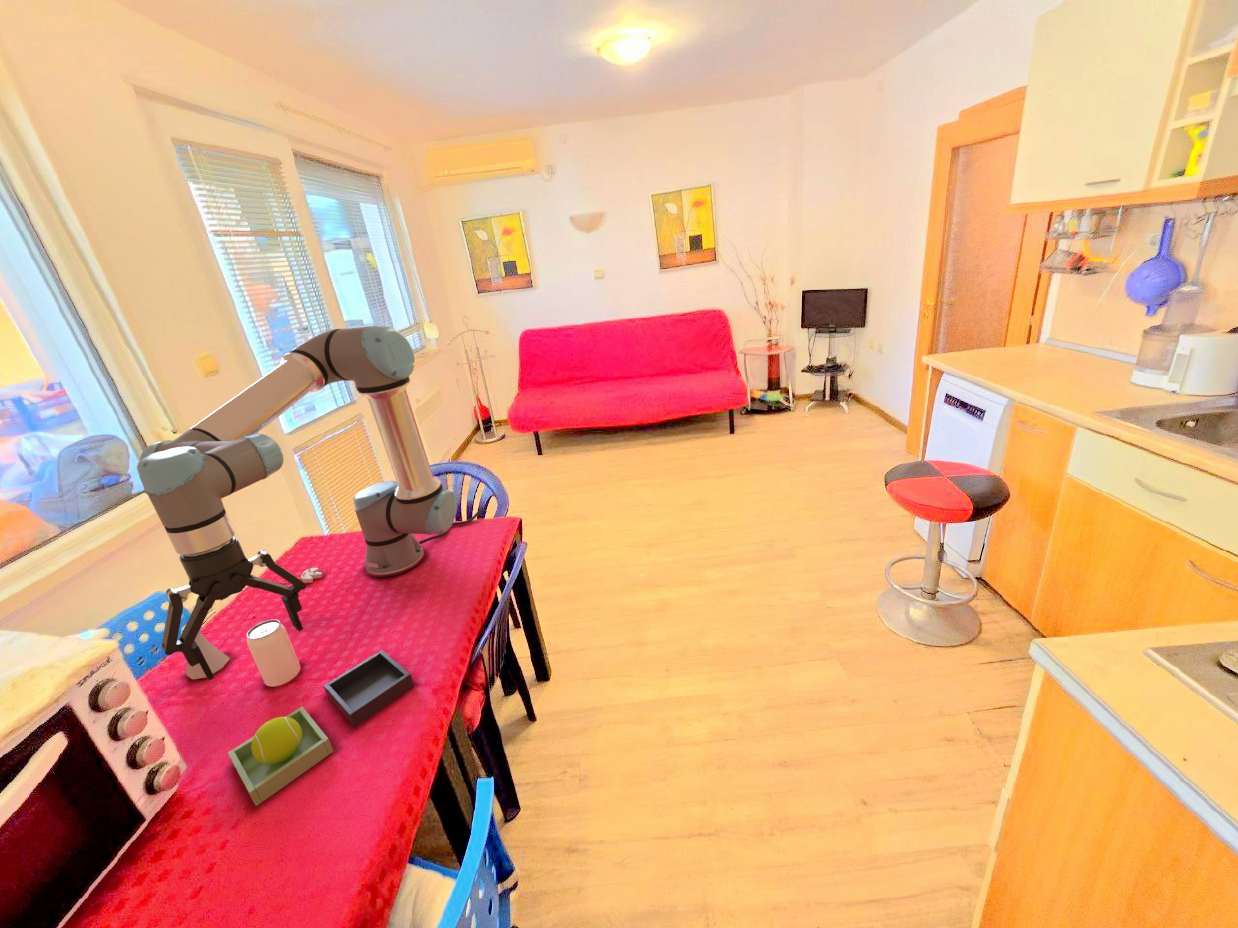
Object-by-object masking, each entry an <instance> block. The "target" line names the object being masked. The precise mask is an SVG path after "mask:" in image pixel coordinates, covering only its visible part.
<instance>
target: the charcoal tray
mask: <svg viewBox="0 0 1238 928" xmlns="http://www.w3.org/2000/svg"><path fill="white" fill-rule="evenodd" d="M414 686H415V684H414V681H413V678H412V674H411V673H410V672H409V671H407V670H406V669H405V668H404V667H402V666H401V664H399V663H398V662H397V661H396V660H394V659H393V658H392V657H391V656H390V655H389V654H387V653H386V652H385V651H384V650H383V649H381V650H379V651H378V652H376V653H375V654H373V655H371V656H369V657H368V658H366V659H364V660H363V661H361V662H359V663H358V664H356V665H355V666H353V667H350V669H348V670H346V671H345V672H343V673H342V674H340V675H338V676H337V677H335V678H334V679H332V680H330V681H329V682H327V683H326V684H324V685H323V689H324V691H325V694H326V696H327V698H328V699H329V700H330V702H331V703H332V704H333V705H334V707H336V709H338V711H339V712H340V713H341V714H342V716H344V717H345V718H346V720H347V721H348V722H349V724H350V725H352V726H353V727H354V728H355V727H357V726H359V725H360V724H362V723H363V722H365V721H366V720H367V719H369V718H370V717H372V716H373V715H374V714H377V712H379V711H380V710H382V709H384V708H385V707H386V706H388V705H389V704H391V703H392V702H393V701H395V700H396V699H398V698H399V697H400V696H402V695H404V694H405V693H406V692H407V691H409V690H410V689H412V688H413V687H414Z"/></svg>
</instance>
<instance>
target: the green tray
mask: <svg viewBox="0 0 1238 928" xmlns="http://www.w3.org/2000/svg"><path fill="white" fill-rule="evenodd" d="M285 717H290V718H292V719H294V720H296V721H297V722H298V723H299V725H300V727H301V730H302V740H301V743H300V745H299V747H298V749H297V750H296V752H295V753H294V754H293V755H292V756H291V757H290V758H288V759H287V760H285V761H283V762H281V763H278V764H274V765H266V764H262V763H260V762H258V761H257V760H256V759H255V758H254V756H253V754H252V750H251V744H252V739H253V737H254V736H252V737H250V738H249V739H247V740H246V741H244V742H242V743H241V744H238V746H236V747H234V748H232V749H231V750H229V751H227V755H228V757H229V759H230V761H231V763H232V765H233V767H234V768H235V770H236V773H237V774H238V776H239V778H240V780H241V781H242V783H243V784H244V788H245V789H246V791H247V792H248V794H249V796H250V798H251V801H252V802H253V804H254V805H255V807H257V806H259V805H260V804H261V803H263V802H264V801H266V800H267V799H268V798H270V797H271V796H273V795H274V794H276V793H277V792H278V791H280V790H281V789H283V788H284V787H285V786H287V785H288V784H290V783H291V782H293V781H294V780H296V778H298V777H300V776H301V775H303V774H304V773H305V772H307V771H308V770H309V769H311V768H312V767H314V766H315V765H317V764H318V763H320V762H321V761H322V760H324V759H325V758H326V757H328V756H329V755H331V754H333V753H334V749H333V747H332V744H331V741H330V739H329V738H328V736H327V735H326V733H324V731H323V730H322V729H321V727H320V726H319V725H318V723H316V721H315V720H314V719H313V718H312V716H311V715H310V714H309V712H308V711H307V710H306V709H305V707H304V706H301V707H298V708H297V709H295V710H294V711H292V712H291V713H289V714H288V715H286V716H285Z"/></svg>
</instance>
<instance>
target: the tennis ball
mask: <svg viewBox="0 0 1238 928" xmlns="http://www.w3.org/2000/svg"><path fill="white" fill-rule="evenodd" d="M252 737H253V739H252V744H251V750H252V754H253V756H254V758H255V759H256V760H257V761H258V762H260V763H262V764H266V765H274V764H278V763H281V762H283V761H285V760H287V759H288V758H290V757H291V756H292V755H293V754H294V753H295V752H296V750H297V749H298V747H299V745H300V743H301V740H302V730H301V727H300V725H299V723H298V722H297V721H296V720H294V719H292V718H290V717H286V716H278V717H274V718H271V719H269V720H268V721H266V722H264V723H263V724H262V725H261V726H260V727H259V728H258V729H257V730H256V732H255V733H254V735H253V736H252Z"/></svg>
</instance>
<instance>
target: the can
mask: <svg viewBox="0 0 1238 928" xmlns="http://www.w3.org/2000/svg"><path fill="white" fill-rule="evenodd" d="M246 638H247V639H246V644H247V647H248V650H249V651H250V654H251V656H252V658H253V661H254V663H255V665H256V668H257V669H258V672H259V674H260V677H261V678H262V680H263V683H264V684H265V686H267V687H272V688H276V687H280V686H283V685H286V684H288V683H289V682H292V680H294V679H295V678H296V677H297V676H298V674H299V673H300V671H301V669H302V667H301V664H300V661H299V659H298V656H297V654H296V651H295V649H294V647H293V644H292V641H291V638H290V636H289V634H288V632H287V629H286V627H285V626H284V625H283V624H282V623H281V621H280V620H278V619H268V620H264V621H262V622H260V623H257V624H256V625H253V627H251V628H250V629H249V630H248V631H247V633H246Z"/></svg>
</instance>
